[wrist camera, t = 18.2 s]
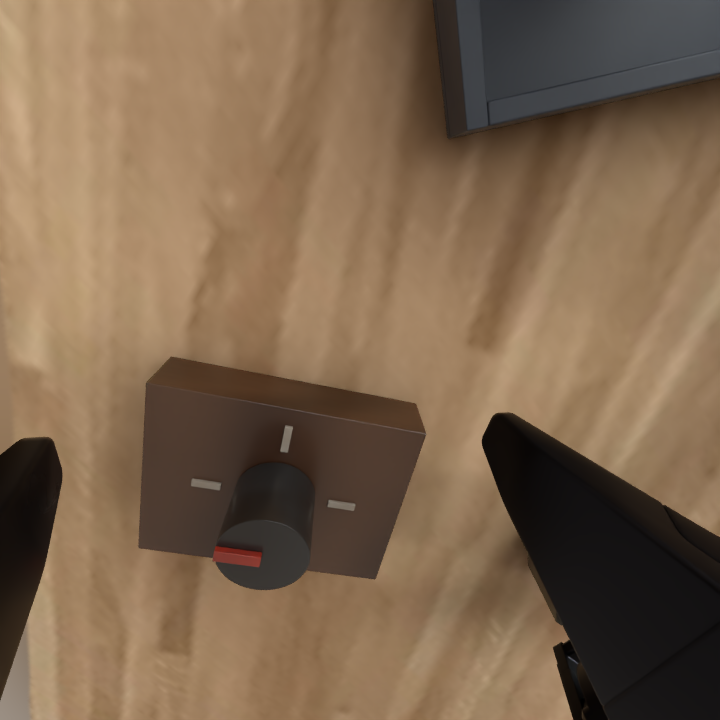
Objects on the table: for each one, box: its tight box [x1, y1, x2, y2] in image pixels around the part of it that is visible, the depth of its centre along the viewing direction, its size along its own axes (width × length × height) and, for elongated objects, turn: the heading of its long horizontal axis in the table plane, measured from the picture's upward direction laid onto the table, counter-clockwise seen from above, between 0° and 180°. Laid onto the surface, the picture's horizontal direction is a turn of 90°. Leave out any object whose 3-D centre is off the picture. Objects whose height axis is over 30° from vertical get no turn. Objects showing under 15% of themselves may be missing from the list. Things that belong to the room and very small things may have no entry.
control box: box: [139, 357, 426, 579], centre depth 22 cm, size 13×10×3 cm
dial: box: [213, 462, 315, 590], centre depth 19 cm, size 4×4×4 cm
